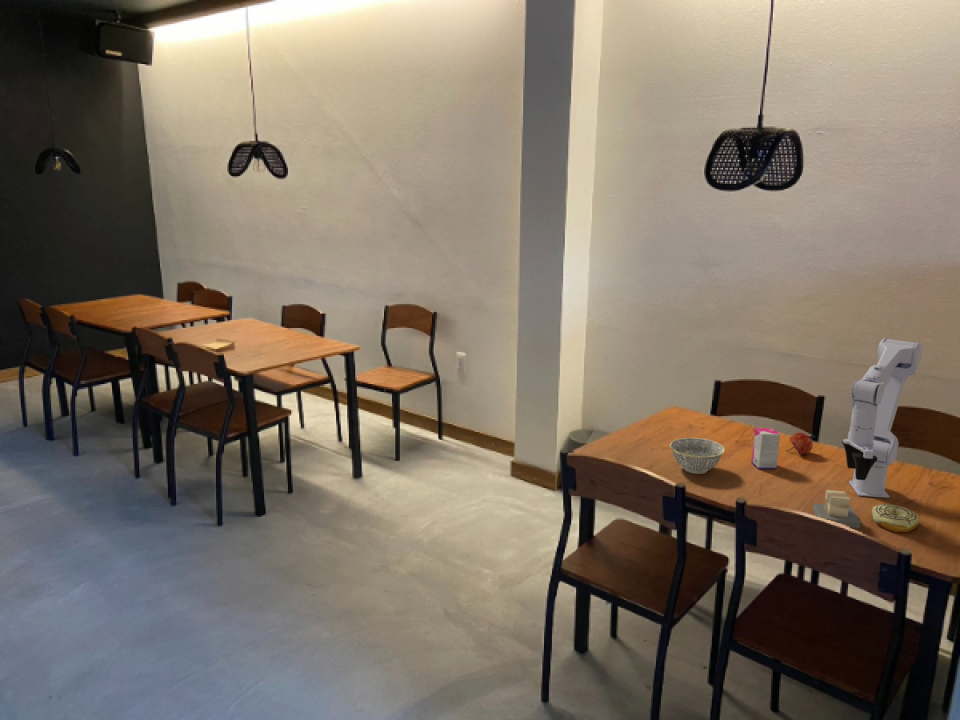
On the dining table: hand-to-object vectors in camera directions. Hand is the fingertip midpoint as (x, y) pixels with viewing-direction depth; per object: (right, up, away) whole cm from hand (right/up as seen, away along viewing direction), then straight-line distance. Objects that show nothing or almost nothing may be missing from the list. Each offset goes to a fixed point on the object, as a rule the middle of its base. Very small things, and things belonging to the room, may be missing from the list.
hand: (856, 473), depth 189 cm
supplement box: (-12, -3, +31) cm, 33 cm away
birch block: (-8, -9, -4) cm, 13 cm away
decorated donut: (+6, -12, -6) cm, 15 cm away
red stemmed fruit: (+3, 0, +41) cm, 41 cm away
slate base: (-7, -11, -4) cm, 14 cm away
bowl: (-34, -3, +28) cm, 45 cm away
